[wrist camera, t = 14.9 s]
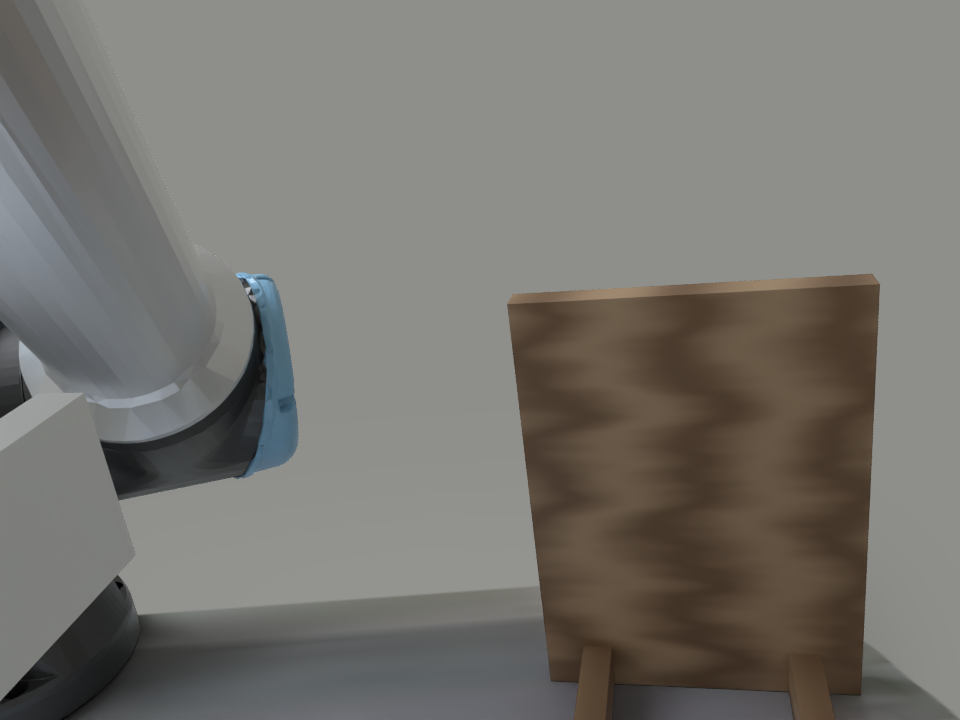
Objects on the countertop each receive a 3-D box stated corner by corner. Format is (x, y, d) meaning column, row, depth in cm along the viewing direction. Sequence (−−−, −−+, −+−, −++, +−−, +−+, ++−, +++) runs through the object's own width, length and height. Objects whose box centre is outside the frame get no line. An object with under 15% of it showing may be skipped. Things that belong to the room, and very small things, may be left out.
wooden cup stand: (512, 901, 37) (440, 431, 29) (554, 662, 50) (512, 294, 42) (928, 945, 33) (978, 420, 25) (855, 674, 46) (872, 273, 38)
